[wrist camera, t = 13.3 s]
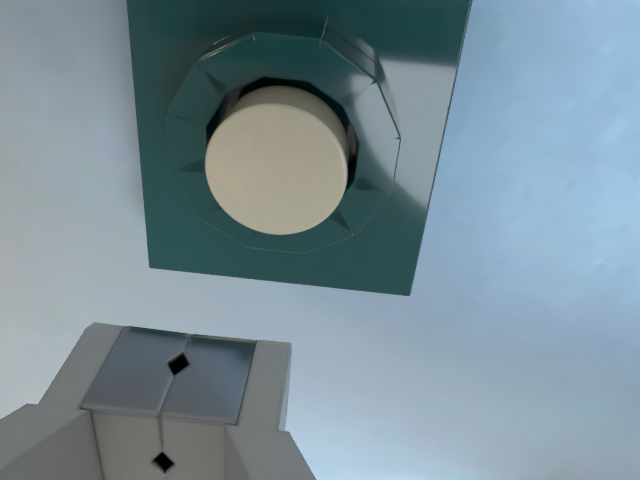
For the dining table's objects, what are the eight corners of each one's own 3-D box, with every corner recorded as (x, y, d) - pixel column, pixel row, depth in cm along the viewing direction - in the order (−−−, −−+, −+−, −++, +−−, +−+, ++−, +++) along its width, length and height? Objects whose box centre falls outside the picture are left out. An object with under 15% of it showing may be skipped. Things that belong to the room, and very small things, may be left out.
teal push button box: (154, -98, 18) (90, -94, 14) (466, -66, 18) (499, -53, 14) (172, 226, 24) (132, 297, 20) (405, 251, 24) (414, 327, 20)
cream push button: (217, 77, 16) (202, 96, 15) (356, 92, 16) (355, 112, 15) (218, 200, 18) (205, 228, 17) (341, 214, 18) (339, 243, 17)
